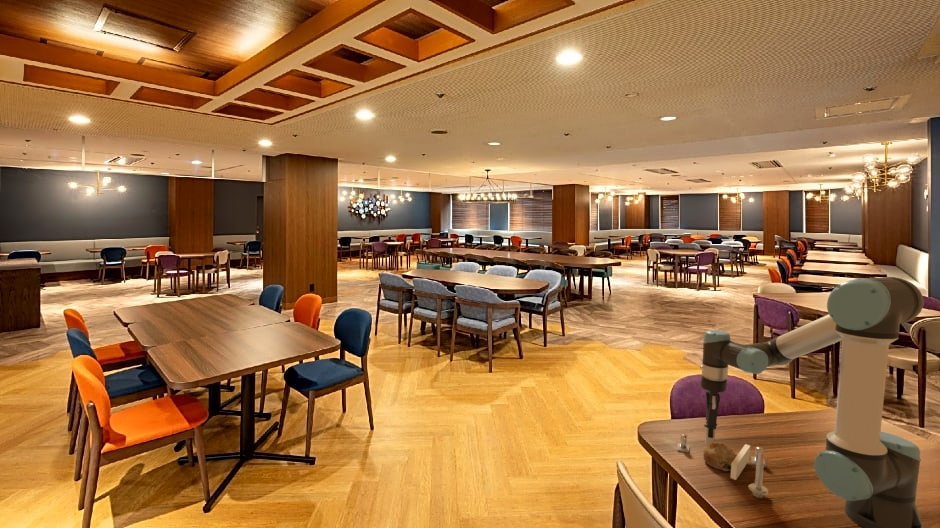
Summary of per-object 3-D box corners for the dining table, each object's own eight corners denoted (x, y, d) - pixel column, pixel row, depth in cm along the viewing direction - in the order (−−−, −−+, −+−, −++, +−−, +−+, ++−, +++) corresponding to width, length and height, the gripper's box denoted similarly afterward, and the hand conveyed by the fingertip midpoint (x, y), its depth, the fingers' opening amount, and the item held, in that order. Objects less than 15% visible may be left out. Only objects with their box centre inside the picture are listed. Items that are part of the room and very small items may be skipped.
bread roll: (711, 480, 147) (719, 464, 143) (694, 452, 156) (701, 436, 152) (739, 478, 149) (749, 462, 145) (721, 450, 157) (729, 434, 153)
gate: (749, 459, 151) (750, 445, 151) (736, 480, 139) (737, 465, 139) (744, 457, 152) (745, 444, 152) (730, 478, 140) (731, 463, 140)
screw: (760, 502, 130) (744, 492, 135) (771, 498, 132) (755, 489, 137) (763, 457, 129) (746, 449, 133) (774, 454, 131) (758, 446, 135)
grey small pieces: (765, 467, 149) (766, 452, 148) (677, 450, 159) (678, 436, 159) (763, 460, 153) (764, 446, 152) (677, 445, 163) (678, 431, 163)
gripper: (700, 369, 161) (696, 434, 164) (702, 381, 150) (697, 451, 152) (725, 372, 158) (720, 438, 161) (728, 385, 147) (723, 456, 149)
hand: (709, 445), depth 157 cm, fingers closed
